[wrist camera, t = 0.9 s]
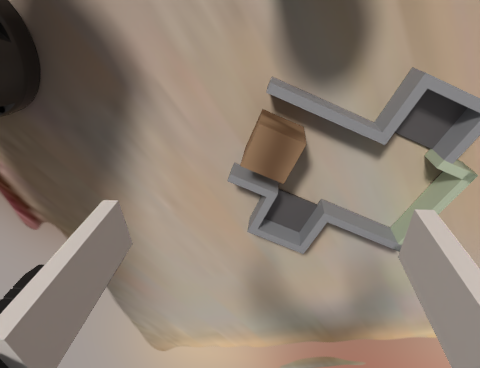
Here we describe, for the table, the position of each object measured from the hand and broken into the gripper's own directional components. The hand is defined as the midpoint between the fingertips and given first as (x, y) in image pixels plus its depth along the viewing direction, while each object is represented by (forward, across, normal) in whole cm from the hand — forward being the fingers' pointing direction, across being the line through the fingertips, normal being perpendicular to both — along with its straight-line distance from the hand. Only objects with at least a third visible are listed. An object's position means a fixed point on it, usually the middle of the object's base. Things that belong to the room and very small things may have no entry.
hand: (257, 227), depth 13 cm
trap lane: (+20, +8, -7) cm, 23 cm away
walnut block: (+21, +1, -4) cm, 21 cm away
